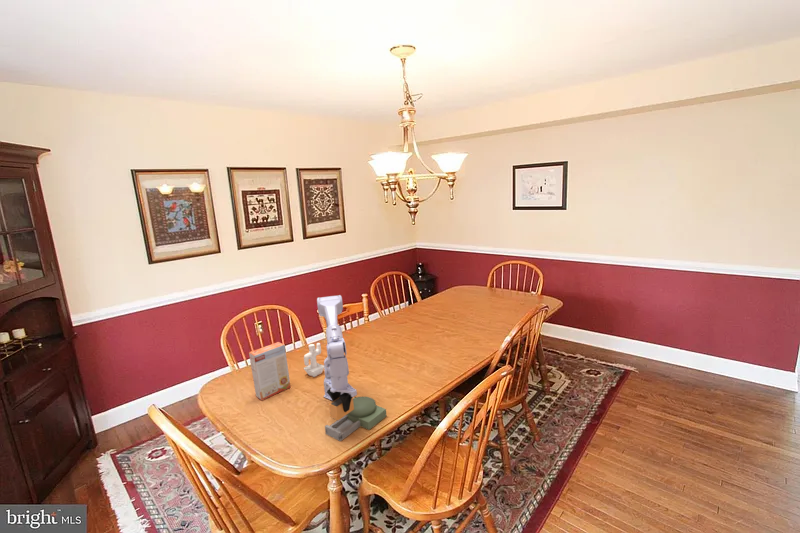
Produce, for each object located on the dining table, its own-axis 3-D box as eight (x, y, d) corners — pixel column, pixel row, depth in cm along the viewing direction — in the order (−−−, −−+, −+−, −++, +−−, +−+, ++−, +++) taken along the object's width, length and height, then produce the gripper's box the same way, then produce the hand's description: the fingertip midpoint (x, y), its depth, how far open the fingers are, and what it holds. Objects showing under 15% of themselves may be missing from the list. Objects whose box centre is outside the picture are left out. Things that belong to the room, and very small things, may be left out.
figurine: (302, 376, 182) (298, 346, 178) (317, 368, 189) (314, 339, 186) (311, 380, 177) (308, 350, 174) (327, 371, 184) (324, 342, 181)
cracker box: (284, 383, 175) (278, 340, 171) (291, 387, 171) (285, 344, 167) (255, 396, 166) (248, 351, 161) (261, 401, 162) (254, 355, 157)
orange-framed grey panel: (330, 416, 136) (328, 403, 135) (346, 406, 142) (345, 393, 141) (338, 420, 134) (336, 407, 133) (354, 409, 140) (352, 396, 139)
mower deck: (317, 429, 140) (316, 417, 139) (357, 403, 156) (356, 391, 155) (349, 445, 130) (347, 432, 129) (387, 415, 146) (386, 403, 145)
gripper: (316, 373, 136) (320, 407, 139) (345, 384, 127) (348, 420, 130) (331, 365, 142) (334, 398, 144) (359, 375, 133) (362, 410, 136)
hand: (342, 408), depth 138 cm, fingers closed on orange-framed grey panel, 4 cm apart
